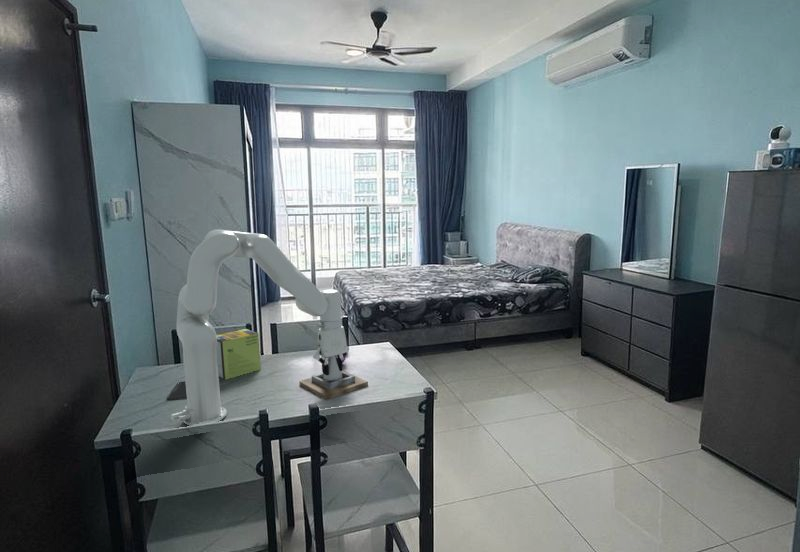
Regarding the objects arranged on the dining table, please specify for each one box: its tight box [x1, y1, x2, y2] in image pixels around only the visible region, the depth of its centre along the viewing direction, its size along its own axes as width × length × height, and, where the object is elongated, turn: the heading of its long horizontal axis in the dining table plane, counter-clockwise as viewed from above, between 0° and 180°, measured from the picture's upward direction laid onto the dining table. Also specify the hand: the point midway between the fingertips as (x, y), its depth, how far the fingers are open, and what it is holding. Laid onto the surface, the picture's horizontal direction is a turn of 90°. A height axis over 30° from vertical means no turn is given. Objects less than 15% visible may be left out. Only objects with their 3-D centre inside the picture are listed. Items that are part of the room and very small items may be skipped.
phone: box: [166, 381, 187, 400], centre depth 166 cm, size 8×1×15 cm
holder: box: [298, 369, 369, 401], centre depth 169 cm, size 18×18×4 cm
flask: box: [323, 356, 342, 381], centre depth 168 cm, size 7×7×10 cm
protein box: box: [216, 328, 262, 381], centre depth 183 cm, size 10×15×16 cm
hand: (332, 371), depth 168 cm, fingers closed on flask, 5 cm apart
